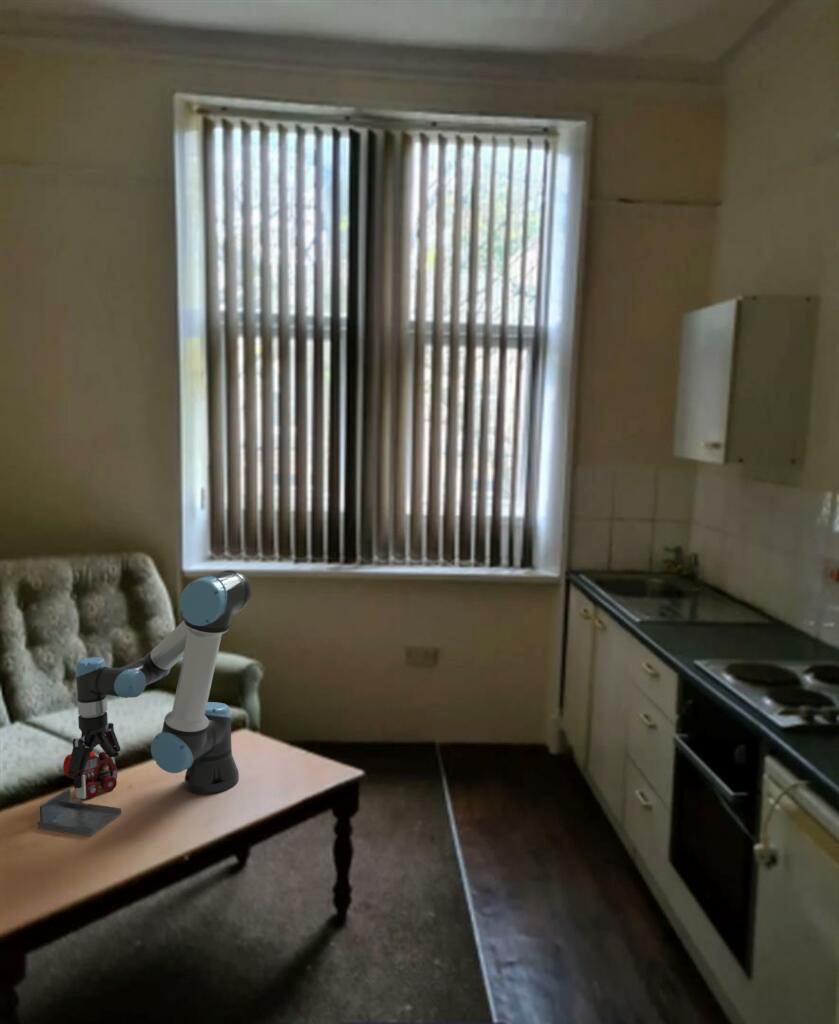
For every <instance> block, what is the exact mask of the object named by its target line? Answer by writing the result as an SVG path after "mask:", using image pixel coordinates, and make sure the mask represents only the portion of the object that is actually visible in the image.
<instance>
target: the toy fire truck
mask: <svg viewBox="0 0 839 1024" xmlns="http://www.w3.org/2000/svg"><path fill="white" fill-rule="evenodd" d="M106 763H108V764H106ZM108 770H109V771H110V772H109V771H108ZM83 775H85V782H86V798H87V799H92V798H95V797H96V796H97V795H98V794H99V792H100V787H101V789H102V790H103V791H105V792H108V793H109V792H112V791H113V790H114V789H116V787H117V784H118V783H117V779H118V767H117V766H116V764H114V762H113V761H112V759H111V758H110V757H108V755H107V754H106V753H105V752H104V751H101V752H100V753H99V754H98V756H97V755H96V756H91V757H89V758H88V761H87V764H86V767H85V769H84V772H83ZM74 791H75V792H76V788H75V786H74Z"/></svg>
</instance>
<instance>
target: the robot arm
mask: <svg viewBox="0 0 839 1024" xmlns="http://www.w3.org/2000/svg"><path fill="white" fill-rule="evenodd" d="M252 594H253V588H252V584H251V582H250V580H249V579H248V577H247V576H246V575H245V574H243V573H242V572H240V571H237V570H234V569H233V570H230V569H229V570H228V569H227V570H224V571H221V572H220V571H219V572H217V573H215V574H210V575H206V576H202V577H198V578H197V579H195V580H193V581H191V582H190V583H188V584H187V586H186V587H184V589H183V591H182V592H181V596H180V599H179V609H180V612H182V617H183V618H184V620H183V621H181V622H180V624H177V626H175V627H174V629H173V630H172V631H171V632H170V633H168V634H167V636H165V638H163V639H162V640H161V641H160V642H159V643H158V644H157V645H156V646H155V647H153V649H152V650H151V651H149V652H148V653H147V654H146V655H144V657H142V658H141V659H139V660H137V661H134V662H131V663H129V664H127V665H125V666H123V667H108V666H106V660H105V659H104V658H103V657H97V656H96V657H86V658H83V659H80V660H78V661H77V662H76V665H75V681H76V693H77V694H76V695H77V699H76V700H77V713H78V716H77V717H78V718H77V722H78V723H77V724H78V729H79V730H80V731H81V735H80V737H79V738H74V739H73V740H72V751H71V753H72V755H71V760H70V765H69V770H68V776H70V777H74V779H73V783H74V786H75V788H76V791H75V798H76V799H83V800H85V799H86V798H87V797H86V782H85V775H83V772H84V769H85V767H86V764H87V761H88V758H89V755H90V753H91V752H92V751H93V752H94V748H96V747H97V746H100V747H101V749H102V751H103V752H105V753H106V756H108V757H110V758H111V759H112V761H113V762H114V764H115V765H116V757H118V756H119V754H120V753H119V752H121V746H120V743H119V741H118V738H117V735H116V733H115V727H114V723H113V722H108V721H109V719H108V712H107V710H108V703H107V702H108V699H107V696H112V697H118V698H119V697H120V698H125V699H128V698H137V697H140V696H141V694H142V693H143V692H144V690H145V688H146V686H148V685H151V684H153V683H155V682H156V681H160V680H161V679H164V677H166V676H167V675H169V674H170V672H171V669H172V667H173V666H175V665H176V664H177V663H178V662H180V660H181V659H182V661H181V666H180V670H179V675H178V681H177V686H176V691H175V696H174V699H173V700H174V701H173V704H172V705H173V706H172V709H171V711H169V712H168V713H166V715H165V716H164V719H163V724H162V730H161V732H159V733H158V734H156V735H155V736H154V738H153V739H152V740H151V744H150V753H151V756H152V759H153V761H155V763H156V765H157V766H158V767H159V768H160V769H162V770H163V771H165V772H166V773H170V774H178V773H182V772H184V771H185V776H184V788H185V789H186V790H187V791H188V792H190V793H194V794H201V795H202V794H203V795H209V794H215V793H221V792H224V791H227V790H229V789H231V788H233V787H235V786H236V785H237V783H238V782H239V781H240V778H239V777H240V774H239V769H238V766H237V764H236V761H235V759H234V756H233V753H232V752H233V749H232V716H231V709H230V707H229V706H228V705H227V704H226V703H222V702H216V701H215V702H214V701H212V702H211V701H209V697H210V692H211V686H212V682H213V677H214V673H215V669H216V664H217V659H218V654H219V651H220V650H219V649H220V644H221V641H222V636H223V635H224V634H225V633H227V632H228V631H229V629H230V626H231V623H232V622H231V621H232V618H233V617H234V616H235V615H237V614H238V613H240V611H242V610H243V609H244V608H246V607H247V605H248V604H249V603H250V601H251V599H252ZM106 764H108V763H106ZM108 771H109V770H108ZM109 772H110V771H109ZM75 788H74V789H75Z"/></svg>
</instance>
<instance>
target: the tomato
mask: <svg viewBox="0 0 839 1024" xmlns="http://www.w3.org/2000/svg"><path fill="white" fill-rule="evenodd" d="M71 755H72V752H70V754H67V755H66V756H65V758H64V760H63V763H62V764H63V765H62V769H63V773H64V775H65V776H66V777H67V778H69V779H73V780H74V777H70V776H68V770H69V765H70V760H71ZM91 756H97V755H96V753H95V752H94V750H93V751H92V752H91V753H90V755H89V757H91Z"/></svg>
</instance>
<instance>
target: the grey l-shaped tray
mask: <svg viewBox="0 0 839 1024" xmlns="http://www.w3.org/2000/svg"><path fill="white" fill-rule="evenodd" d="M38 807H39V820H38V821H37V828H38V830H44V831H45V830H46V831H51V832H58V833H63V834H64V833H65V834H70V835H76V836H77V835H78V836H83V837H93V836H94V835H95V834H96V833H98V832H100V831H101V830H102V829H104V828H105V827H106V826H108V825H109V824H111V823H112V822H113V821H116V819H117V818H119V817H121V816H122V808H121V807H115V806H108V805H107V806H106V805H101V804H94V803H87V802H86V803H85V802H80V801H73V800H72V797H71V788H67V789H65V790H63V791H61V792H60V793H58V794H57V795H55V796H53V797H52V798H50V799H49V800H47V801H45V802H44V803H41V804H40V805H39V806H38Z"/></svg>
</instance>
